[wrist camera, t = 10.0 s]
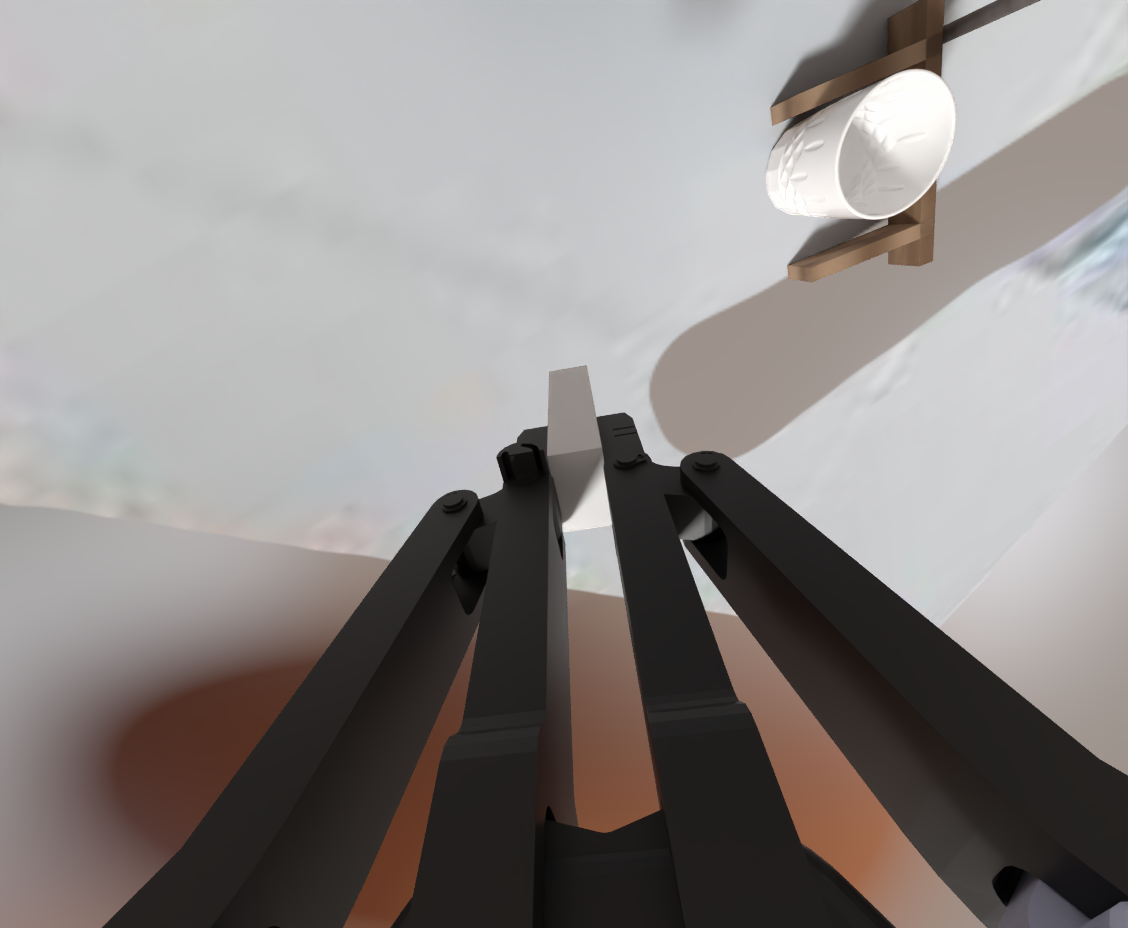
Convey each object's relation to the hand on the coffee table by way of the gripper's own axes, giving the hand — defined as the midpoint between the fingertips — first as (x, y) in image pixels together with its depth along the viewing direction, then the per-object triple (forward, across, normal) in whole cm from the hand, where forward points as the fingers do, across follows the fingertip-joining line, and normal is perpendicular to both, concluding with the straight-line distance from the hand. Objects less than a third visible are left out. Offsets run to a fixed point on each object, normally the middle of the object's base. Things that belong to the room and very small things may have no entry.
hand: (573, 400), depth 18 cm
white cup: (+28, +22, +5) cm, 35 cm away
